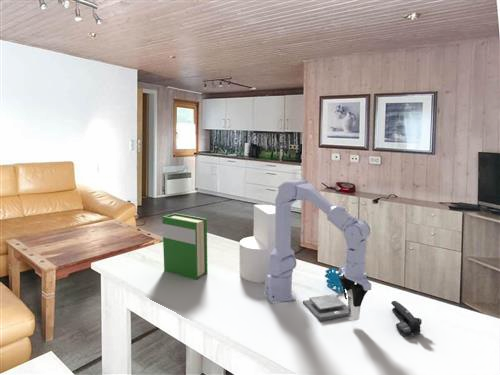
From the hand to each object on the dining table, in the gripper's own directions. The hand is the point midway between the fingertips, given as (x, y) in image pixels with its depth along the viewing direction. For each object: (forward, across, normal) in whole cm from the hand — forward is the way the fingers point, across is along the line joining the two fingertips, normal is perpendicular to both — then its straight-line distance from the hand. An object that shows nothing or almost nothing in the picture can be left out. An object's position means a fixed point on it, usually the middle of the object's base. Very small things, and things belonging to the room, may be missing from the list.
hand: (352, 302), depth 111 cm
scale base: (+8, +11, +2) cm, 14 cm away
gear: (+8, +24, -9) cm, 27 cm away
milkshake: (+6, 0, 0) cm, 6 cm away
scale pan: (+6, +12, +2) cm, 13 cm away
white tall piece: (+8, +46, +15) cm, 49 cm away
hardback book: (+8, +56, +45) cm, 72 cm away
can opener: (+8, -4, -17) cm, 19 cm away
